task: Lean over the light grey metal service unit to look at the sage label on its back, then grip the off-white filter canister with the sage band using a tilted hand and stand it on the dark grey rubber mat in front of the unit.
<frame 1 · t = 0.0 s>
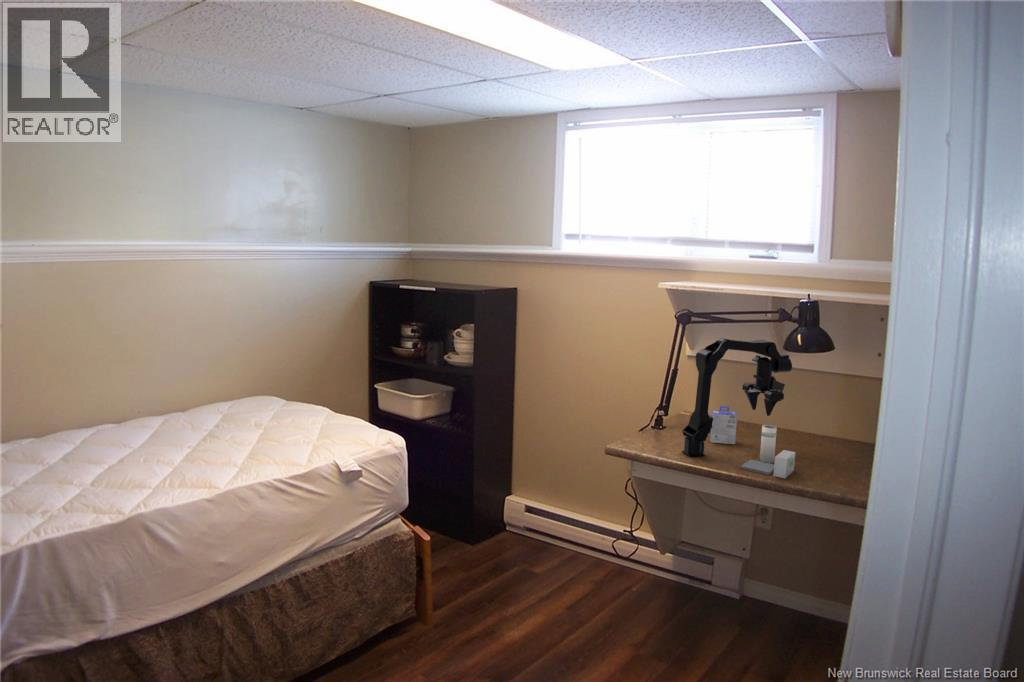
hand: (761, 412, 275), 15 cm above the table, tool pointing down, fingers open, 9 cm apart
service unit: (783, 473, 249), on the table
filter canister: (766, 460, 263), on the table
ink cartridge box: (722, 442, 286), on the table
dock mat: (759, 468, 254), on the table
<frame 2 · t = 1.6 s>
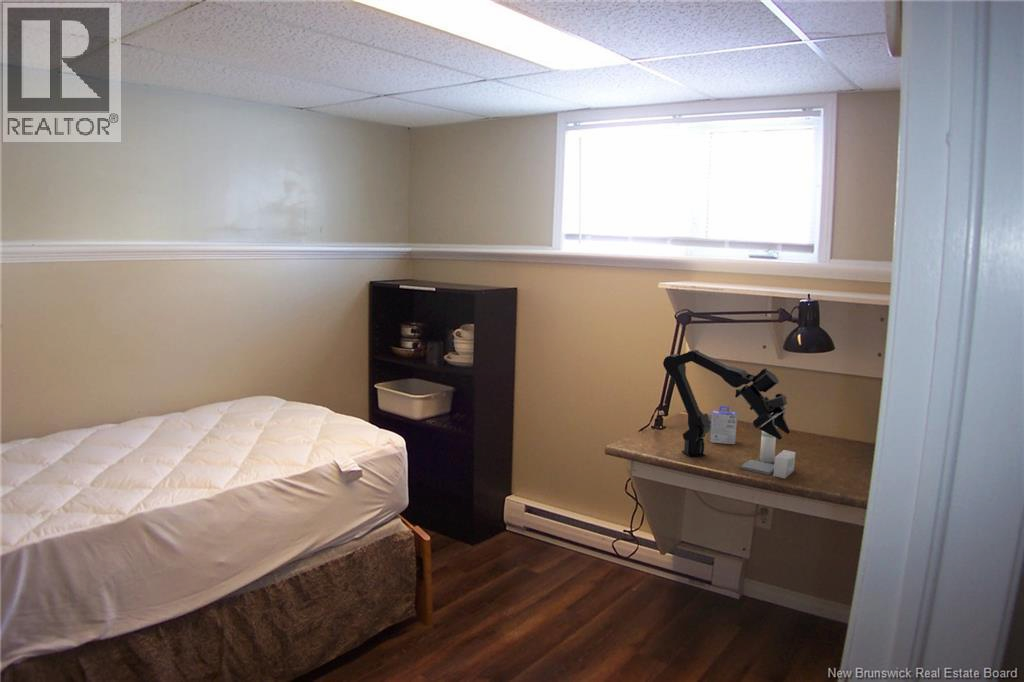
hand: (785, 435, 248), 13 cm above the table, tool tilted 45°, fingers open, 9 cm apart
nothing on the table moved.
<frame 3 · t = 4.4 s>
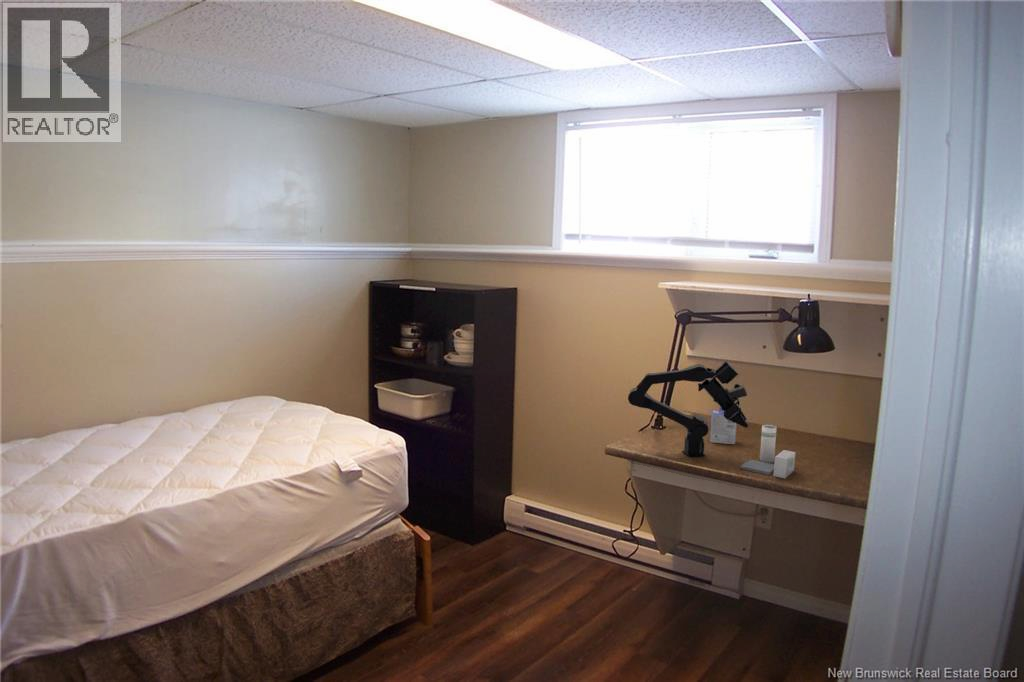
hand: (746, 423, 263), 14 cm above the table, tool tilted 45°, fingers open, 9 cm apart
nothing on the table moved.
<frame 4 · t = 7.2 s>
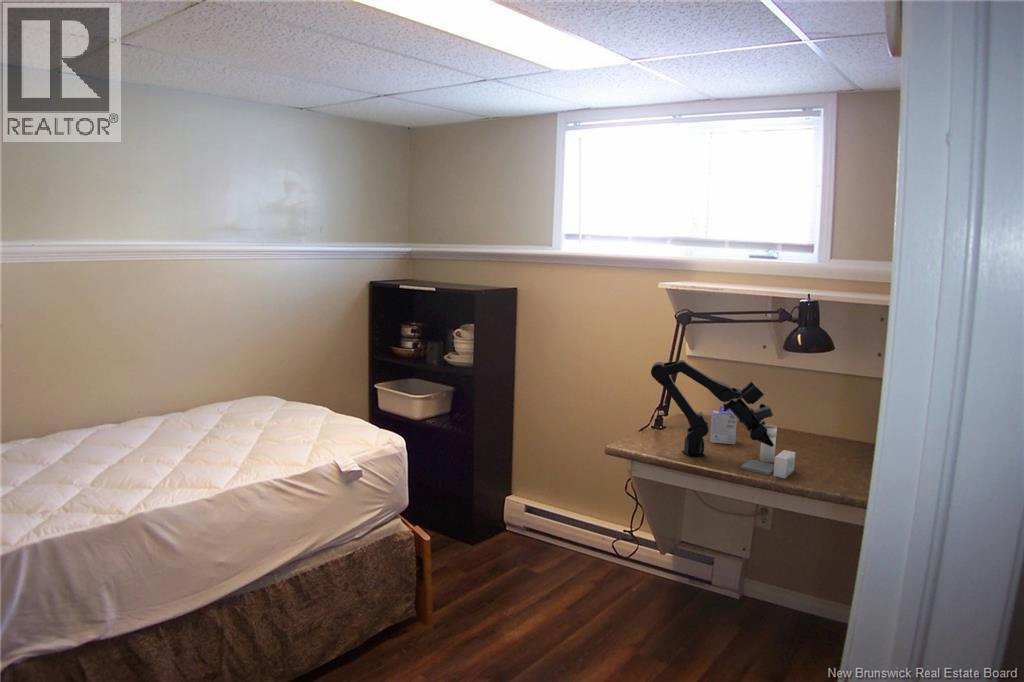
hand: (772, 443, 262), 7 cm above the table, tool tilted 45°, fingers closed on filter canister, 5 cm apart
filter canister: (766, 460, 263), on the table, touching gripper
everything else where it was.
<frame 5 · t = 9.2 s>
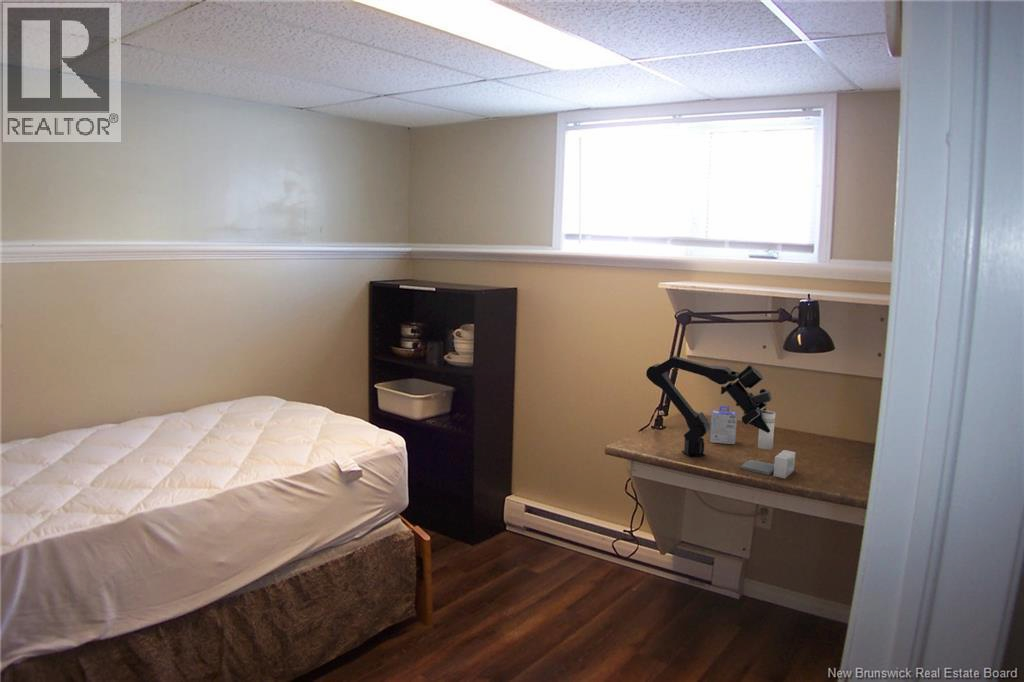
hand: (770, 430, 255), 13 cm above the table, tool tilted 45°, fingers closed on filter canister, 5 cm apart
filter canister: (765, 447, 256), point 7 cm above the table, touching gripper
everything else where it was.
when the fingers open (9 cm above the table, at t = 11.0 s): filter canister drops 1 cm, resting on dock mat.
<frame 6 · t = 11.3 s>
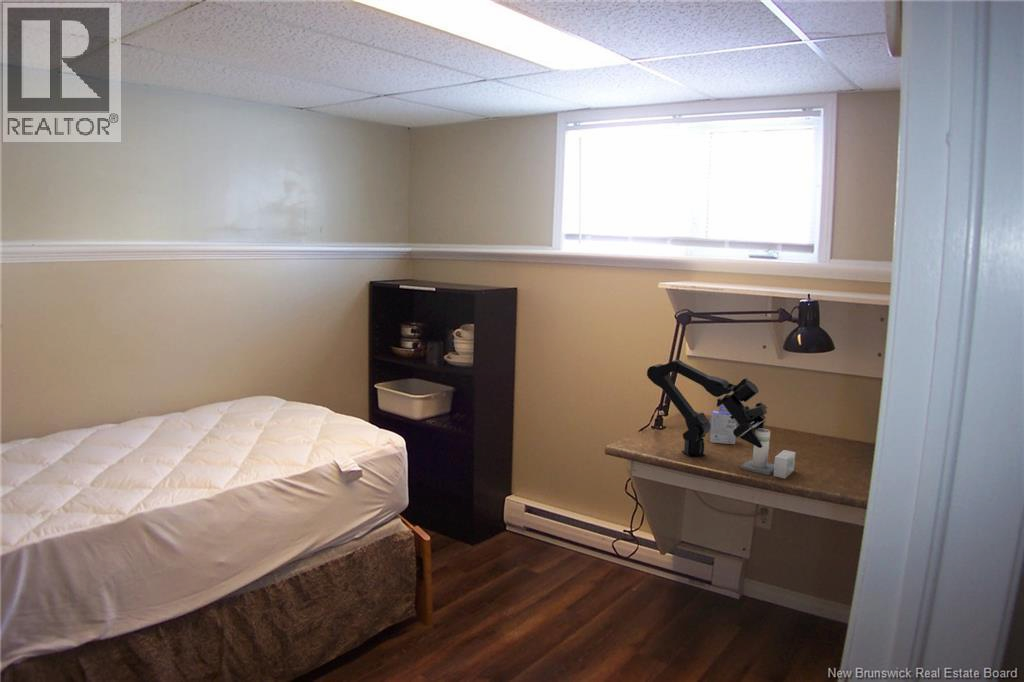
hand: (765, 444, 252), 9 cm above the table, tool tilted 45°, fingers open, 8 cm apart
filter canister: (759, 465, 254), point 1 cm above the table, touching dock mat
everything else where it was.
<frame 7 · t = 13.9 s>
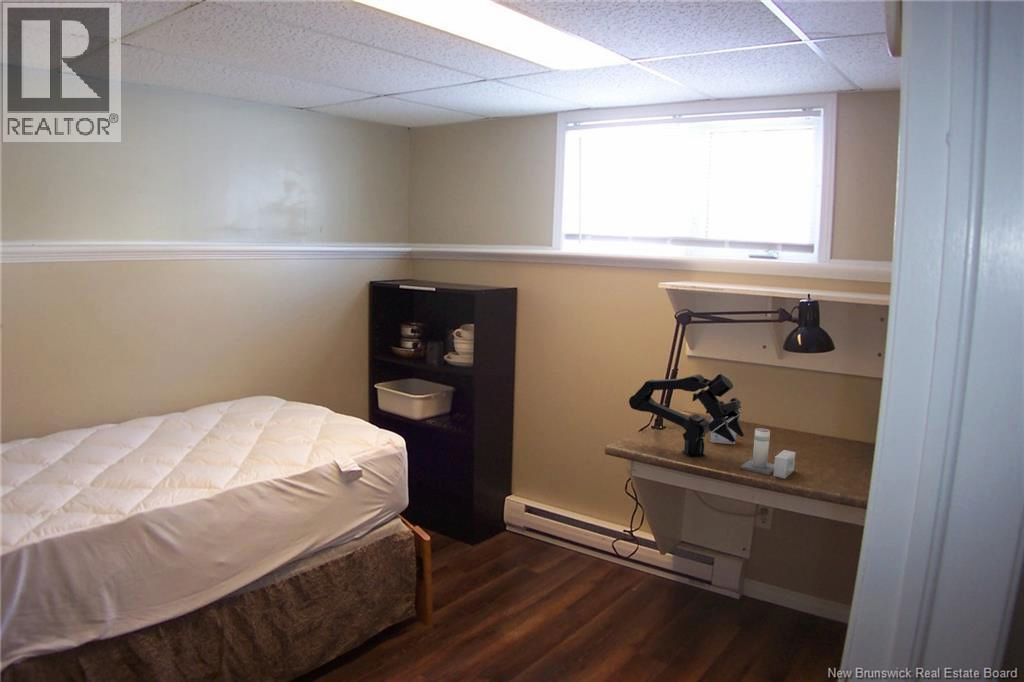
hand: (738, 438, 258), 9 cm above the table, tool tilted 45°, fingers open, 9 cm apart
nothing on the table moved.
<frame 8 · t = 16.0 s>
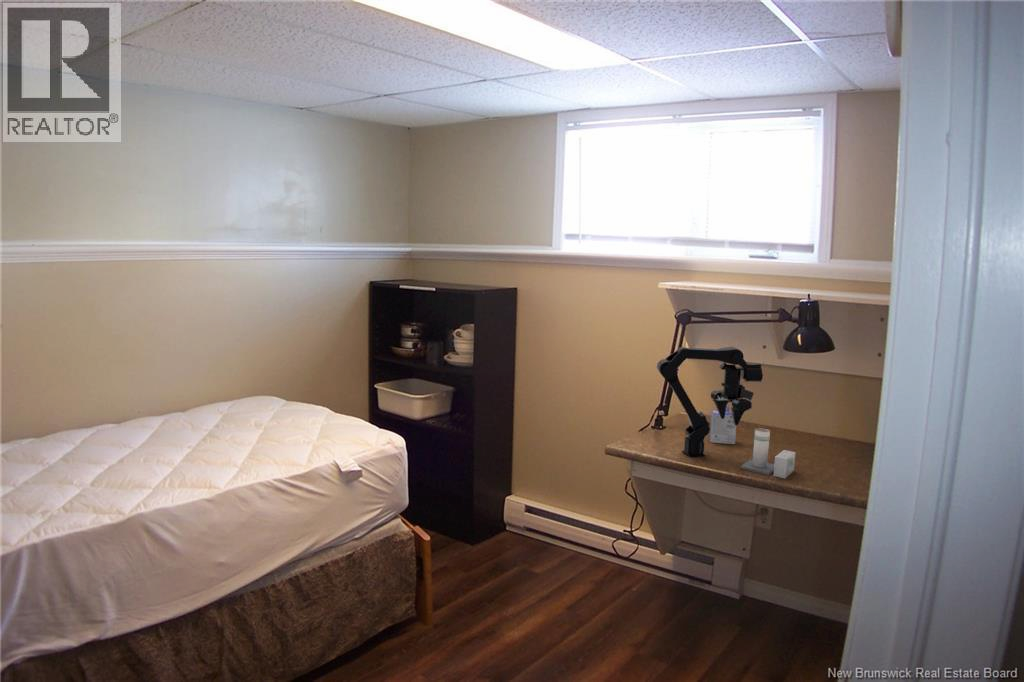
hand: (729, 421, 267), 13 cm above the table, tool pointing down, fingers open, 9 cm apart
nothing on the table moved.
at the end: filter canister 0.0 cm off-centre on the dock mat, point 1.0 cm above the dock mat's base; filter canister tilted 1°; the gripper is holding nothing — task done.
